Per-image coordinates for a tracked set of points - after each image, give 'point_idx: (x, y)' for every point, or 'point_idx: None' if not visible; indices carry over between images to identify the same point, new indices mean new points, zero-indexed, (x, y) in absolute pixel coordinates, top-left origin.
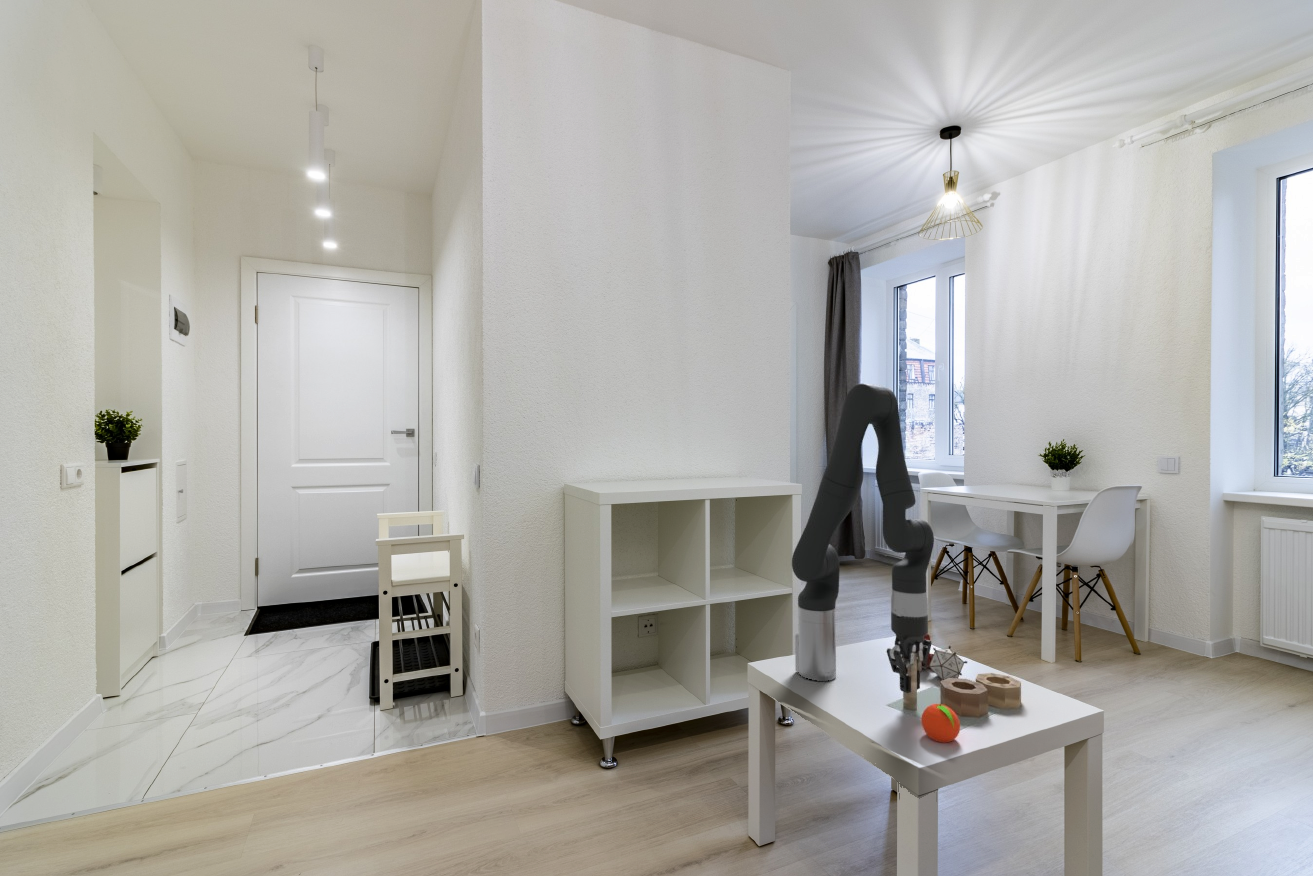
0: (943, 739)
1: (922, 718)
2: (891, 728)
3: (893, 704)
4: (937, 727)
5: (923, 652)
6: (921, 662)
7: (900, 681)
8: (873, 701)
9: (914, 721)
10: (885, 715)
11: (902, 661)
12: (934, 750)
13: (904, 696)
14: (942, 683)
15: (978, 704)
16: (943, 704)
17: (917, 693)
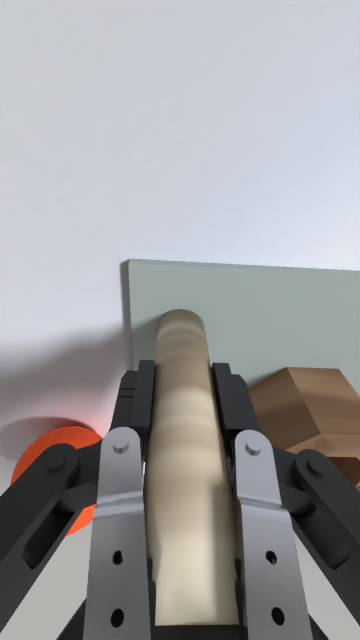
0: None
1: (17, 469)
2: (12, 350)
3: (158, 278)
4: None
5: (350, 595)
6: (290, 511)
7: (116, 404)
8: (142, 181)
9: (118, 364)
10: (70, 293)
11: (20, 601)
12: (27, 443)
13: (156, 349)
14: (299, 445)
15: None
16: (259, 393)
17: (340, 280)
